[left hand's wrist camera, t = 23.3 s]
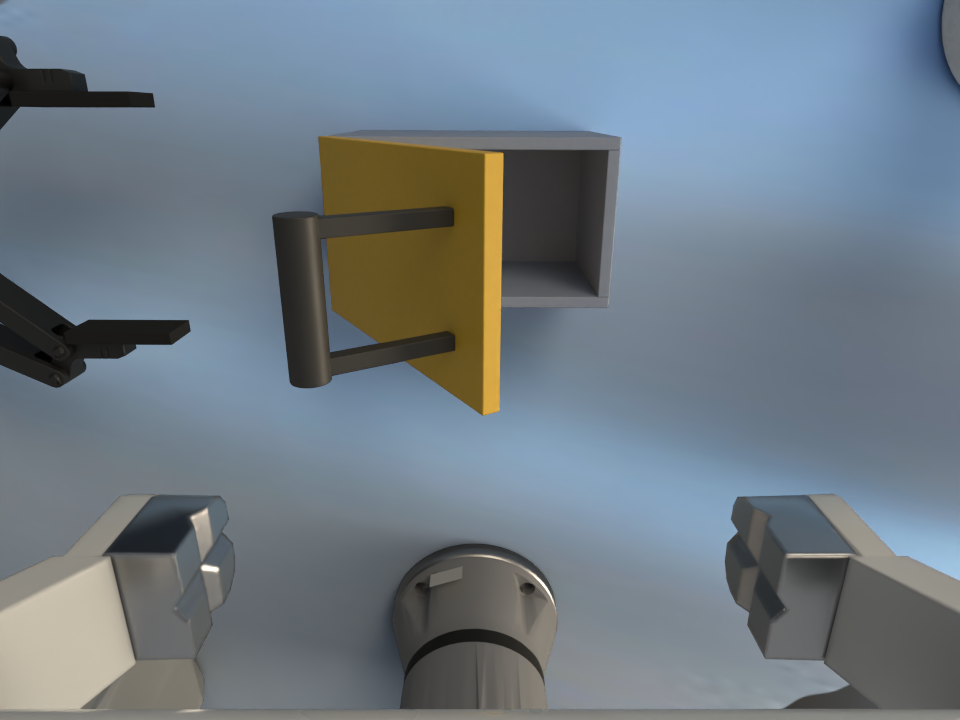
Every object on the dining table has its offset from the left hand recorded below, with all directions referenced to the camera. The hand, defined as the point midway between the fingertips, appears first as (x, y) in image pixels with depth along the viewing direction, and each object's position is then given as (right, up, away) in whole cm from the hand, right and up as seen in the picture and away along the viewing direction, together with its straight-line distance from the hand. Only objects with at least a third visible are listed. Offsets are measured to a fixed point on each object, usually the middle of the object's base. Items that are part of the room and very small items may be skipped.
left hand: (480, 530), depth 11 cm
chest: (0, +14, +38) cm, 41 cm away
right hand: (-19, +11, +28) cm, 36 cm away
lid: (-4, +8, +21) cm, 23 cm away
